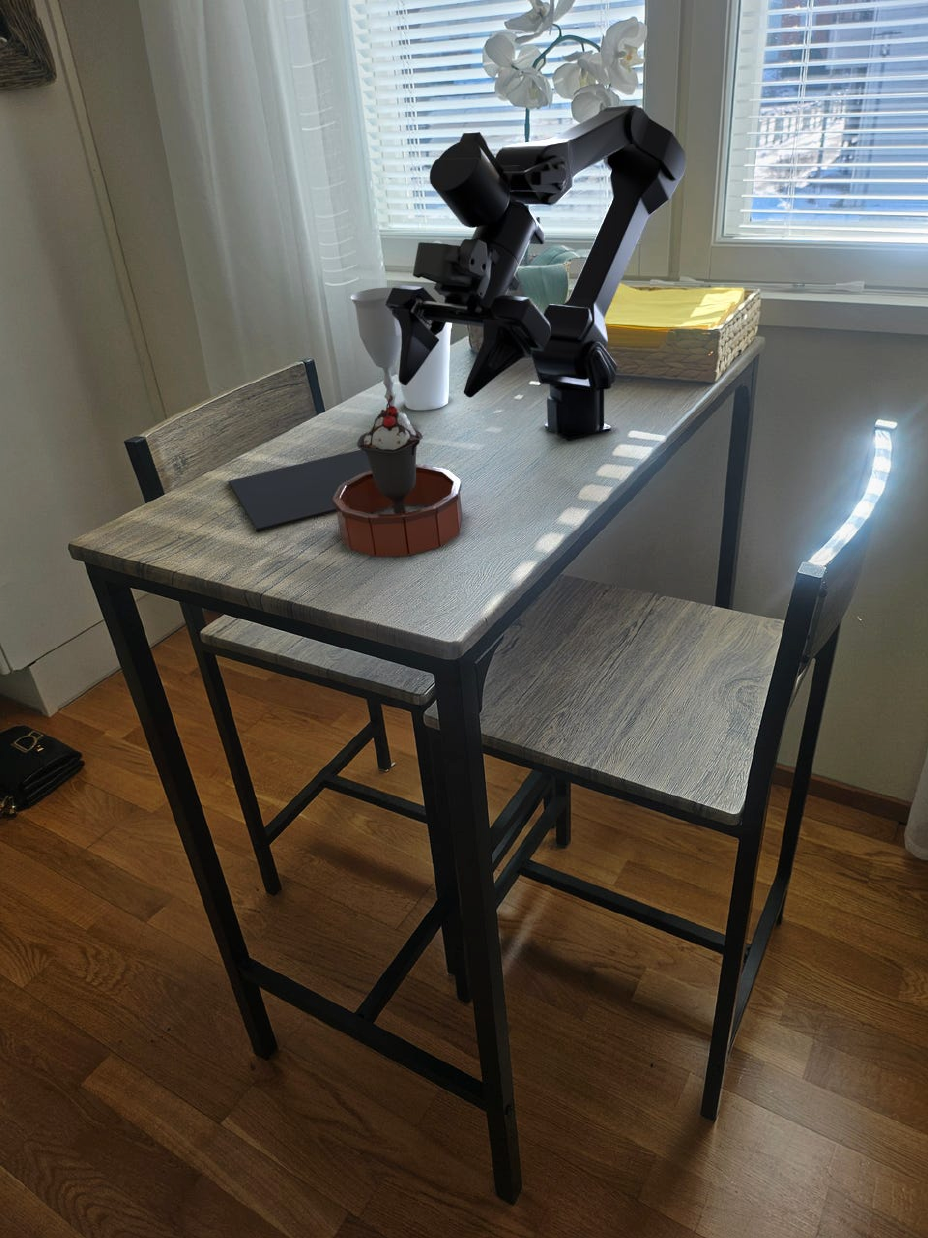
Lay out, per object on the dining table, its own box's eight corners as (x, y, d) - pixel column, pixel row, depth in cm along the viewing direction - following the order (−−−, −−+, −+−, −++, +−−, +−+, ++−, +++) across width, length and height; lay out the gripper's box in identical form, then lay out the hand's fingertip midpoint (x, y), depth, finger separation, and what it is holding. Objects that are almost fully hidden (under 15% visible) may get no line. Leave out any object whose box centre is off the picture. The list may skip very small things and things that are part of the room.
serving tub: (435, 492, 102) (431, 455, 99) (483, 535, 91) (480, 496, 89) (326, 520, 98) (319, 483, 95) (363, 569, 87) (357, 528, 85)
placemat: (379, 447, 115) (379, 445, 115) (425, 489, 103) (424, 485, 102) (228, 483, 109) (228, 480, 109) (257, 532, 97) (256, 528, 96)
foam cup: (457, 411, 125) (449, 317, 118) (393, 416, 126) (381, 323, 119) (458, 390, 133) (450, 301, 126) (398, 395, 134) (387, 307, 127)
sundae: (410, 546, 90) (391, 404, 82) (358, 535, 94) (336, 397, 86) (445, 520, 95) (430, 383, 87) (394, 510, 98) (376, 377, 90)
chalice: (412, 440, 117) (395, 299, 107) (363, 440, 118) (342, 301, 109) (425, 420, 123) (410, 286, 113) (378, 421, 124) (360, 288, 115)
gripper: (386, 204, 92) (324, 338, 91) (529, 207, 81) (460, 359, 80) (443, 268, 101) (388, 391, 100) (579, 279, 90) (518, 417, 89)
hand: (433, 389), depth 92 cm, fingers open, 9 cm apart
